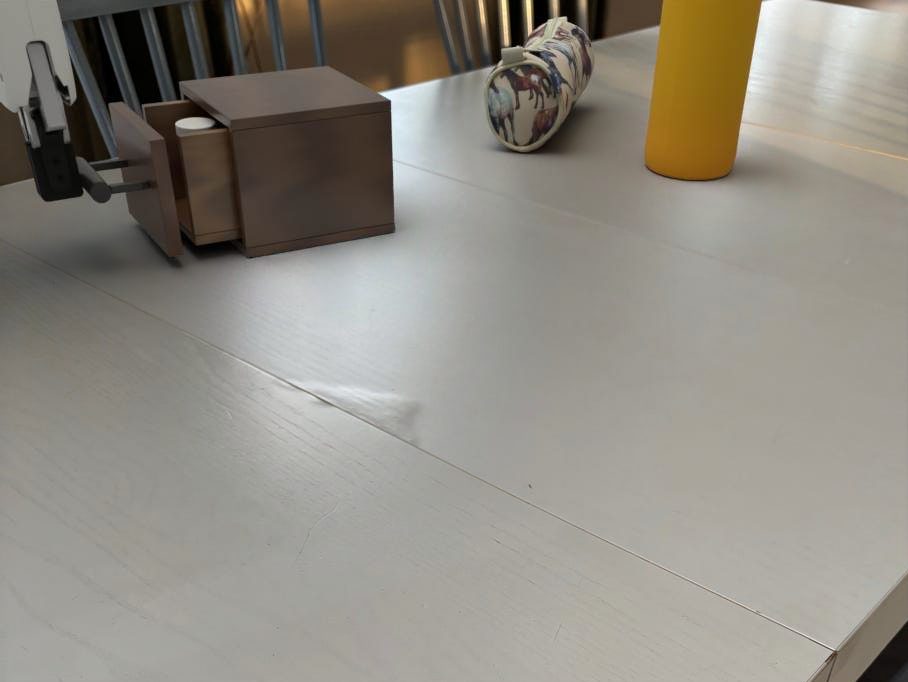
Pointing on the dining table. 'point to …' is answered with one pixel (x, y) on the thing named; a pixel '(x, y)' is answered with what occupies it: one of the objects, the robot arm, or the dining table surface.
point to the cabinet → (304, 156)
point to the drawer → (170, 175)
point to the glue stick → (194, 125)
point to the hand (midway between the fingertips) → (61, 195)
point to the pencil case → (538, 84)
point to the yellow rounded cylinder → (700, 86)
